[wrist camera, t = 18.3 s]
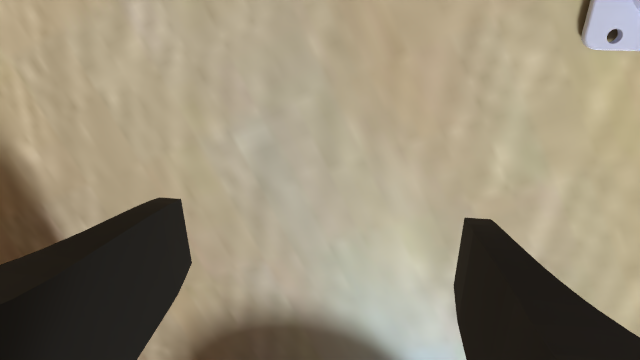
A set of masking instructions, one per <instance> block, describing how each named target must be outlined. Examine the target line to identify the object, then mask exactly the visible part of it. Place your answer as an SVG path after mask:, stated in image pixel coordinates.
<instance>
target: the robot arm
mask: <svg viewBox="0 0 640 360" xmlns="http://www.w3.org/2000/svg"><path fill="white" fill-rule="evenodd" d="M613 29H617V31H618V35H617V37H616V39H614V40H613V41H611V42H608V41H607V35H608V33H609V32H610V31H611V30H613ZM582 42H583V44H584V45H585V46H586V47H588V48H590V49H595V50H621V51H640V0H591V1H590V5H589V9H588V13H587V16H586V20H585V24H584V28H583V32H582ZM191 263H192V261H191V255H190V249H189V244H188V238H187V232H186V226H185V220H184V214H183V208H182V202H181V199H173V198H157V199H154V200H151V201H148V202H146V203H143V204H141V205H139V206H136V207H134V208H132V209H130V210H128V211H126V212H123V213H121V214H119V215H117V216H115V217H113V218H111V219H109V220H106V221H104V222H102V223H100V224H98V225H96V226H94V227H92V228H90V229H87V230H85V231H83V232H81V233H78V234H76V235H74V236H72V237H69V238H67V239H65V240H62V241H60V242H58V243H55V244H53V245H51V246H49V247H46V248H44V249H41V250H39V251H36V252H34V253H31V254H29V255H26V256H24V257H21V258H18V259H15V260H13V261H10V262H7V263H4V264H1V265H0V360H137V359H138V357H139V355H140V354H141V352H142V351H143V349H144V348H145V346H146V344H147V343H148V341H149V340H150V338H151V337H152V335H153V333H154V332H155V330H156V329H157V327H158V326H159V324H160V322H161V321H162V319H163V318H164V316H165V315H166V313H167V311H168V310H169V308H170V306H171V305H172V303H173V302H174V300H175V298H176V297H177V295H178V293H179V291H180V289H181V286H182V284H183V282H184V280H185V278H186V275H187V273H188V271H189V268H190V266H191ZM454 293H455V303H456V312H457V321H458V326H459V330H460V334H461V338H462V343H463V347H464V351H465V355H466V359H467V360H640V337H638V336H636V335H635V334H633V333H632V332H630V331H628V330H627V329H625V328H624V327H623V326H621V325H620V324H618V323H617V322H615V321H614V320H612V319H611V318H609V317H608V316H606V315H605V314H603V313H602V312H600V311H599V310H597V309H596V308H595V307H593V306H592V305H591V304H589V303H588V302H586V301H585V300H584V299H582V298H581V297H580V296H579V295H577V294H576V293H575V292H573V291H572V290H571V289H570V288H568V287H567V286H566V285H565V284H563V283H562V282H561V281H559V280H558V279H557V278H556V277H555V276H553V275H552V274H551V273H550V272H549V271H547V270H546V269H545V268H544V267H543V266H542V265H541V264H539V263H538V262H537V261H536V260H535V259H534V258H533V257H532V256H530V255H529V254H528V253H527V252H526V251H525V250H524V249H523V248H522V247H521V246H520V245H519V244H517V243H516V242H515V241H514V240H513V239H512V238H511V237H510V236H509V235H508V234H507V233H506V232H505V231H504V230H502V229H501V228H500V227H499V226H498V225H497V224H496V223H495V222H494V221H492V220H491V219H476V218H465V219H464V225H463V231H462V237H461V243H460V250H459V256H458V262H457V268H456V274H455V281H454Z"/></svg>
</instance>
